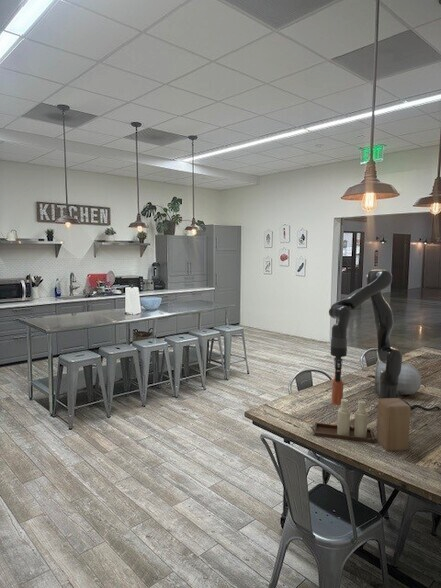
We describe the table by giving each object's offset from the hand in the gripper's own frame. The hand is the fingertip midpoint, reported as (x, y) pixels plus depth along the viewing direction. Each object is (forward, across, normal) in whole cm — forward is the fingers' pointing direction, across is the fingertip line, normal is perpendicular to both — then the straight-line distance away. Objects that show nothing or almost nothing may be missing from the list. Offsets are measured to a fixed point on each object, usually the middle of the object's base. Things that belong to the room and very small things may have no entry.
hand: (337, 379), depth 193 cm
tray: (+21, -14, -3) cm, 26 cm away
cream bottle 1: (+21, -14, -3) cm, 25 cm away
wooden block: (+22, -19, -23) cm, 37 cm away
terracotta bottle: (+12, 0, 0) cm, 12 cm away
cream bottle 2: (+21, -14, -10) cm, 27 cm away
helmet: (+22, +50, -33) cm, 64 cm away
